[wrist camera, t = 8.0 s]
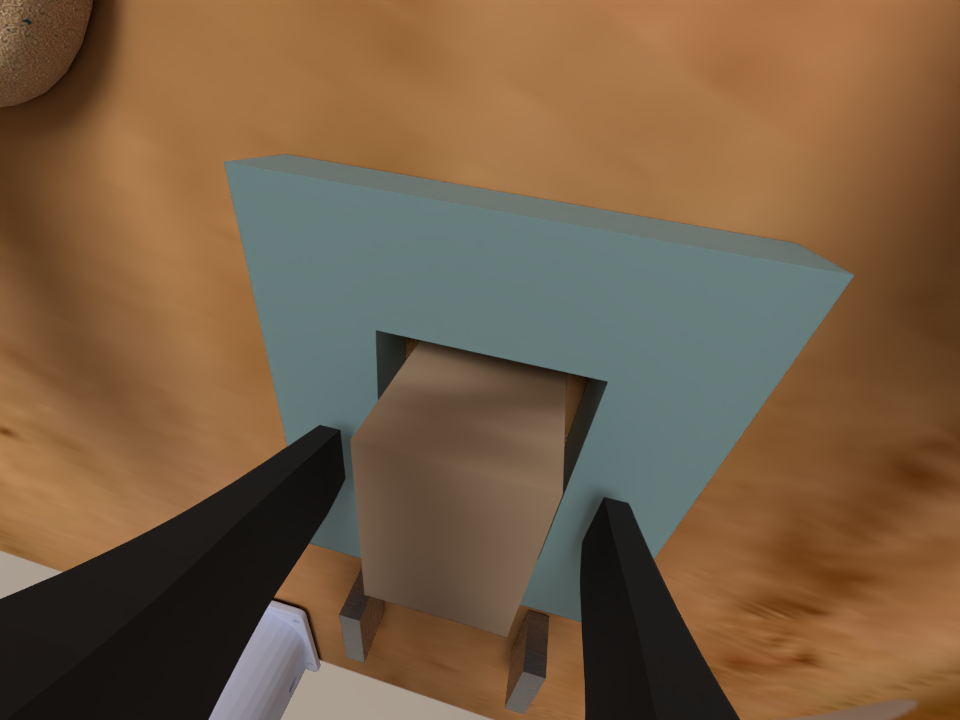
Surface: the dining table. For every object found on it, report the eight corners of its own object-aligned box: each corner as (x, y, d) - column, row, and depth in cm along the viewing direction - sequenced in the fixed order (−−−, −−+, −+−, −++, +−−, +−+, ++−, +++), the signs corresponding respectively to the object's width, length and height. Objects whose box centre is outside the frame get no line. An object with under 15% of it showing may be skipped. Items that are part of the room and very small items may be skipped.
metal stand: (528, 656, 21) (523, 714, 19) (367, 607, 22) (346, 657, 20) (548, 616, 18) (545, 678, 16) (364, 562, 20) (339, 614, 17)
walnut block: (567, 351, 11) (562, 494, 7) (527, 486, 14) (506, 637, 10) (433, 322, 11) (350, 440, 7) (424, 459, 15) (364, 594, 10)
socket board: (601, 576, 16) (604, 628, 14) (334, 502, 17) (309, 543, 16) (797, 243, 8) (855, 275, 6) (285, 153, 9) (223, 161, 8)
